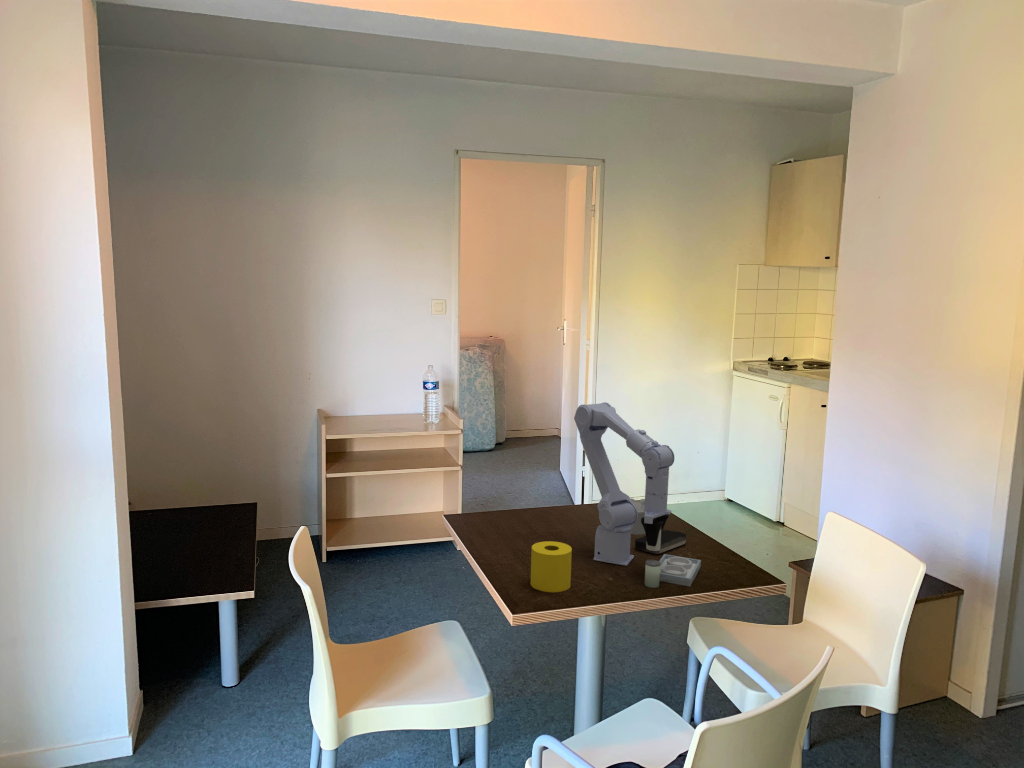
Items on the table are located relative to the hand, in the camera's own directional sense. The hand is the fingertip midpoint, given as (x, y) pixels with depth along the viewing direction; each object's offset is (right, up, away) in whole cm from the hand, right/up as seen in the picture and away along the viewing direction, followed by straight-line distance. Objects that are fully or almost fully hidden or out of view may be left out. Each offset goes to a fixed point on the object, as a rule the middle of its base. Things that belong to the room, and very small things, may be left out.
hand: (653, 543), depth 196 cm
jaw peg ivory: (0, -1, 0) cm, 2 cm away
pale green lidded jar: (-2, -9, -6) cm, 11 cm away
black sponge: (+6, -6, +23) cm, 24 cm away
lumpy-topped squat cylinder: (+3, -4, +40) cm, 40 cm away
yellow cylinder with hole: (-27, -9, -7) cm, 30 cm away
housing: (+6, -8, +2) cm, 11 cm away
